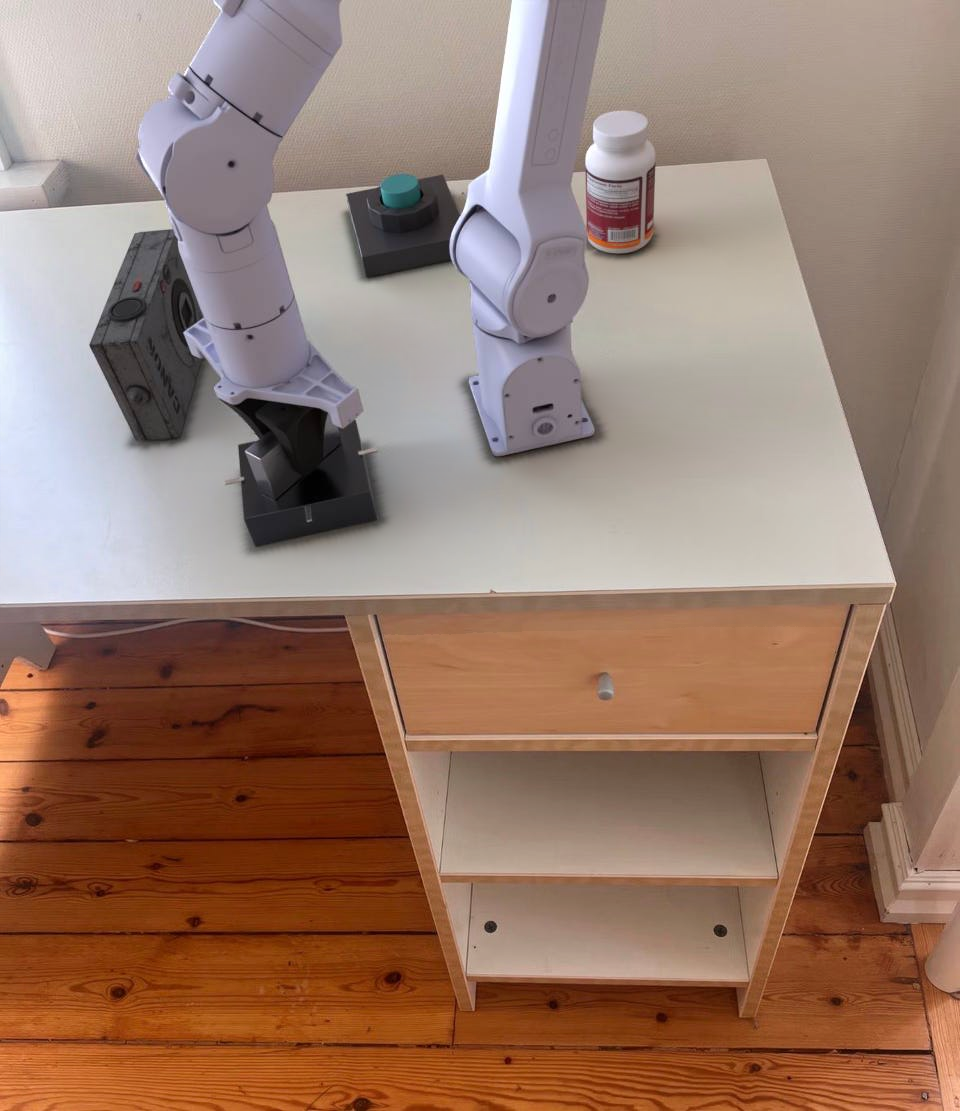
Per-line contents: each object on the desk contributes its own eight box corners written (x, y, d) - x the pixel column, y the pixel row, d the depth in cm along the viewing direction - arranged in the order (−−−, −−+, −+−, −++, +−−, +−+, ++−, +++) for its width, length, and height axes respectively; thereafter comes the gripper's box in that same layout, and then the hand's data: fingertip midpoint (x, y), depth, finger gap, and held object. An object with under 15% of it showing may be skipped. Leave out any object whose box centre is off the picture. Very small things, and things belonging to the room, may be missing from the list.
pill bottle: (619, 212, 94) (621, 98, 86) (666, 236, 91) (673, 119, 82) (572, 239, 92) (569, 125, 83) (619, 264, 88) (621, 147, 80)
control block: (470, 256, 91) (465, 217, 88) (366, 277, 91) (358, 239, 88) (445, 194, 99) (440, 156, 96) (349, 213, 99) (341, 176, 96)
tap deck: (396, 532, 69) (388, 502, 67) (241, 567, 69) (228, 538, 66) (373, 431, 77) (366, 400, 74) (233, 461, 76) (221, 432, 74)
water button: (423, 206, 91) (421, 188, 90) (386, 213, 91) (383, 196, 90) (417, 187, 94) (414, 170, 92) (380, 194, 93) (377, 177, 92)
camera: (180, 448, 78) (135, 346, 70) (132, 451, 78) (82, 351, 70) (214, 324, 88) (178, 224, 81) (172, 327, 88) (132, 229, 81)
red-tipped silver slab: (275, 500, 68) (259, 456, 65) (259, 491, 69) (243, 448, 66) (342, 442, 72) (330, 398, 68) (326, 434, 72) (314, 390, 69)
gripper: (123, 300, 61) (192, 456, 71) (284, 377, 54) (334, 536, 65) (206, 245, 64) (260, 402, 75) (367, 311, 58) (402, 473, 68)
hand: (299, 460), depth 70 cm, fingers closed on red-tipped silver slab, 2 cm apart
